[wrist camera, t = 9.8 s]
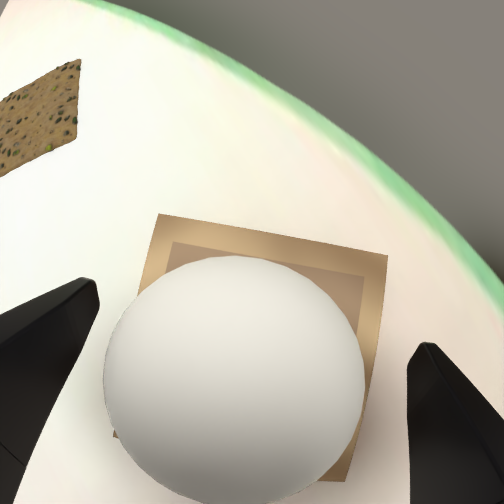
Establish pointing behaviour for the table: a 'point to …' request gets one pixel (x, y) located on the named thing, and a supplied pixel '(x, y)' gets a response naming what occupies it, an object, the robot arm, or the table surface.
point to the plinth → (290, 256)
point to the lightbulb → (234, 381)
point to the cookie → (39, 117)
